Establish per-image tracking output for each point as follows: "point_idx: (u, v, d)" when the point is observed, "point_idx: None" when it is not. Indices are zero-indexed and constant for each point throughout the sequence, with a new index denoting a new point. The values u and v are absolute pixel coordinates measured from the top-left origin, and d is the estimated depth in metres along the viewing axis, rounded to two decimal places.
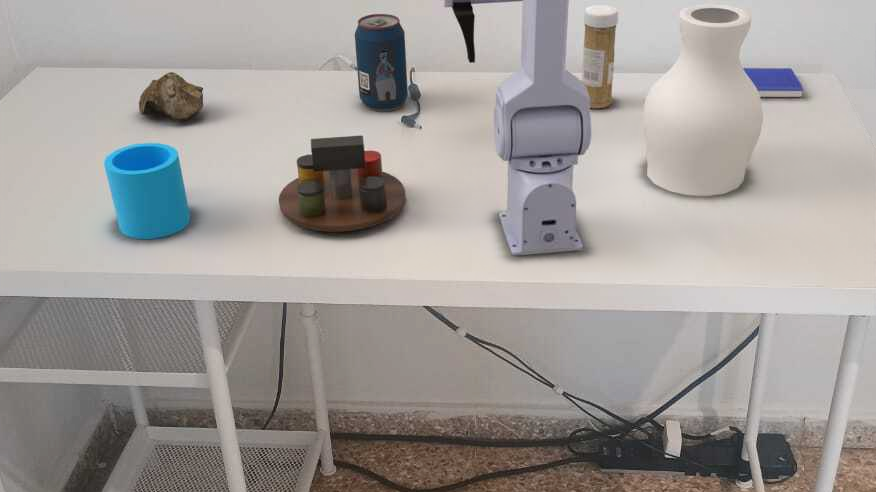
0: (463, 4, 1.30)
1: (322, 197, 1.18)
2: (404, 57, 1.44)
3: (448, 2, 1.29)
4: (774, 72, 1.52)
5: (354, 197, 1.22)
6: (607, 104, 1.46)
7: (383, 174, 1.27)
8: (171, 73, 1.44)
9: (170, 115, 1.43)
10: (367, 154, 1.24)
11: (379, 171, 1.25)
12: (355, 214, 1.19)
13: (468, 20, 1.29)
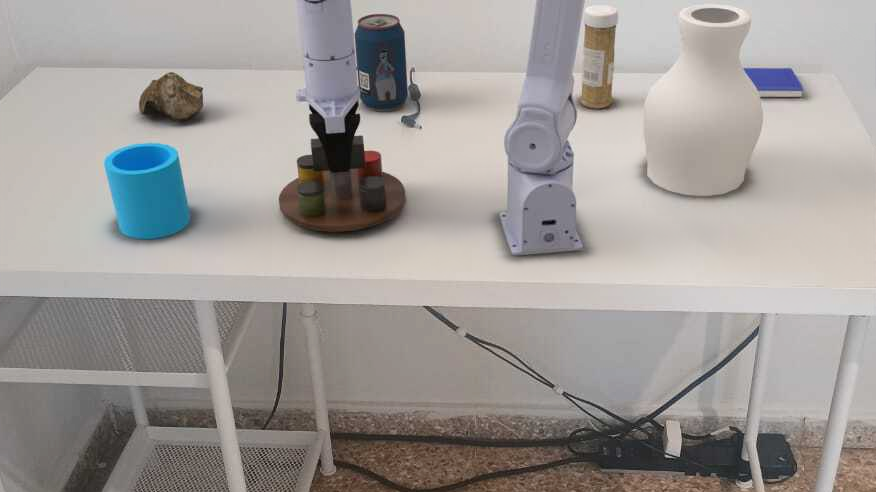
0: None
1: (322, 197, 1.18)
2: (404, 57, 1.44)
3: (344, 125, 1.11)
4: (774, 72, 1.52)
5: (354, 197, 1.22)
6: (607, 104, 1.46)
7: (383, 174, 1.27)
8: (171, 73, 1.44)
9: (170, 115, 1.43)
10: (367, 154, 1.24)
11: (379, 171, 1.25)
12: (355, 214, 1.19)
13: None
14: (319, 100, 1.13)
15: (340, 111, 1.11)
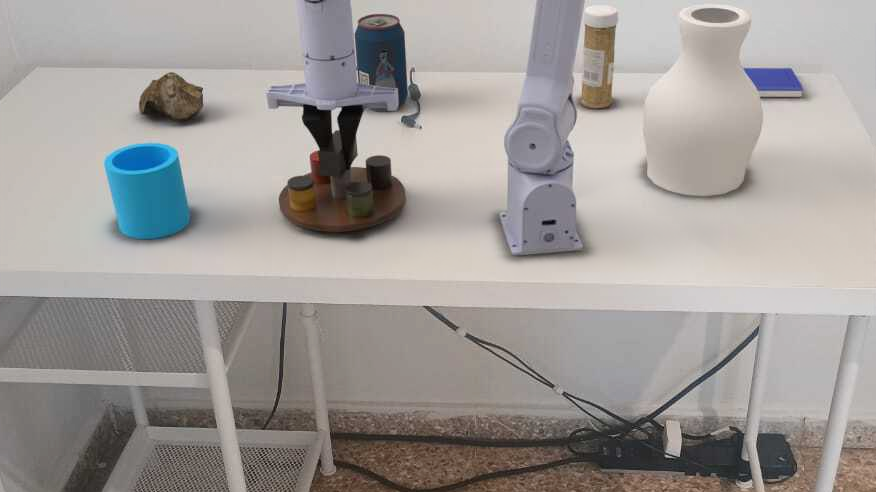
0: None
1: None
2: (404, 57, 1.44)
3: None
4: (774, 72, 1.52)
5: None
6: (607, 104, 1.46)
7: None
8: (171, 73, 1.44)
9: (170, 115, 1.43)
10: None
11: None
12: (387, 193, 1.23)
13: None
14: (352, 95, 1.14)
15: None
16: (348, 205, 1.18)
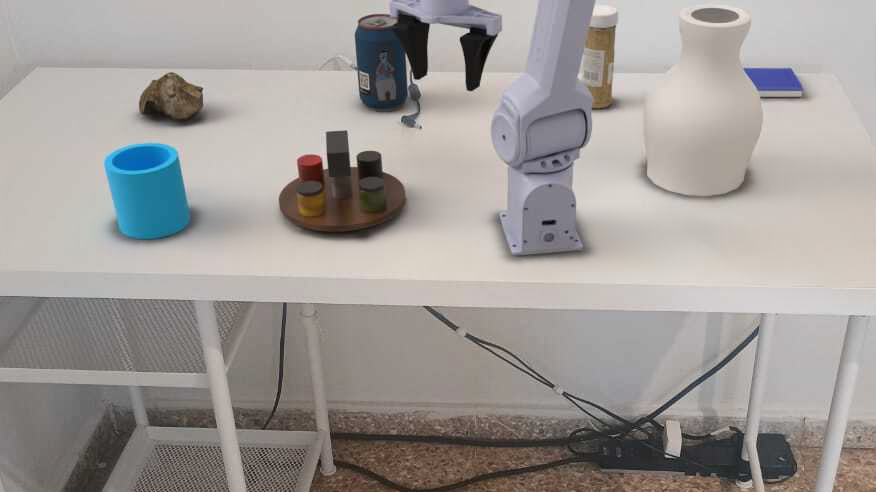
0: None
1: None
2: (404, 57, 1.44)
3: None
4: (774, 72, 1.52)
5: None
6: (607, 104, 1.46)
7: None
8: (171, 73, 1.44)
9: (170, 115, 1.43)
10: (306, 160, 1.23)
11: None
12: (385, 186, 1.24)
13: None
14: (456, 14, 1.20)
15: None
16: (364, 201, 1.19)
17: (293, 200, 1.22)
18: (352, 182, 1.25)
